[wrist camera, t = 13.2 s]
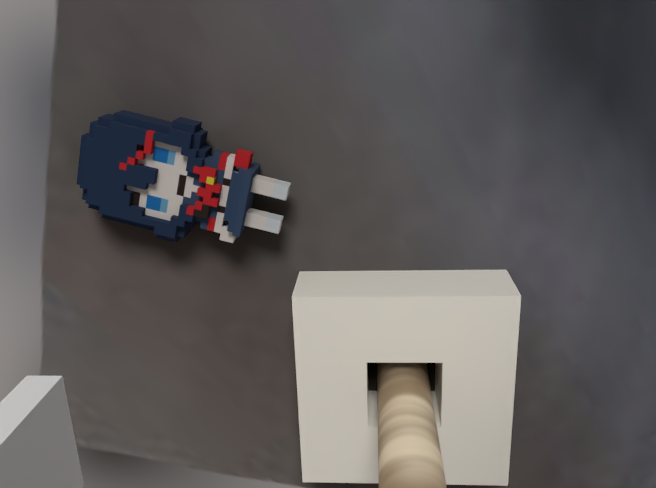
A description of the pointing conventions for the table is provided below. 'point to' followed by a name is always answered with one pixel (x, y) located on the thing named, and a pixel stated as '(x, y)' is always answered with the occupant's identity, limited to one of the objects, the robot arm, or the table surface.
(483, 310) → the socket block
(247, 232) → the table surface
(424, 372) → the dowel
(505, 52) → the table surface
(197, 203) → the figurine
